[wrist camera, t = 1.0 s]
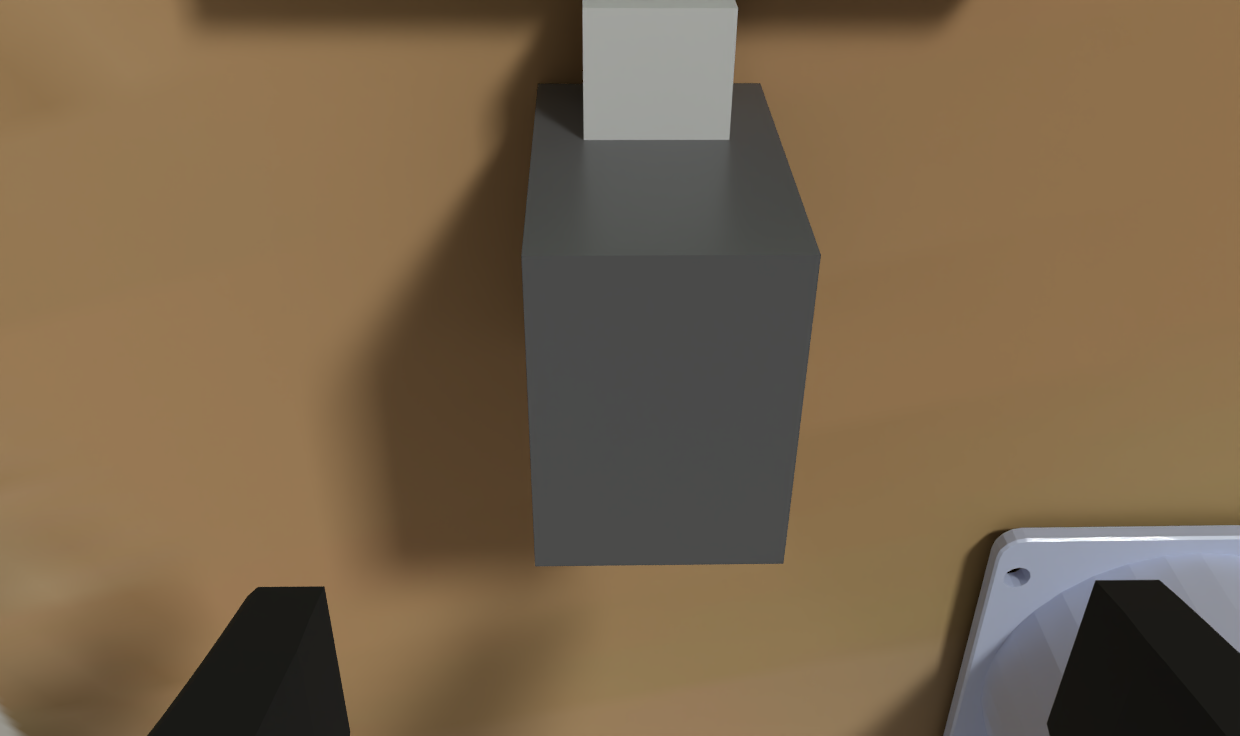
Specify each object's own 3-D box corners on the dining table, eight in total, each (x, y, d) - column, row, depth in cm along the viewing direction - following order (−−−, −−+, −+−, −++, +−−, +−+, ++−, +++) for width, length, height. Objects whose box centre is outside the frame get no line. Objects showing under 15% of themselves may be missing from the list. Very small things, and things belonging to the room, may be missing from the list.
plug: (739, 345, 20) (783, 563, 16) (546, 346, 20) (535, 566, 16) (769, -38, 17) (839, 104, 12) (534, -38, 17) (514, 103, 12)
